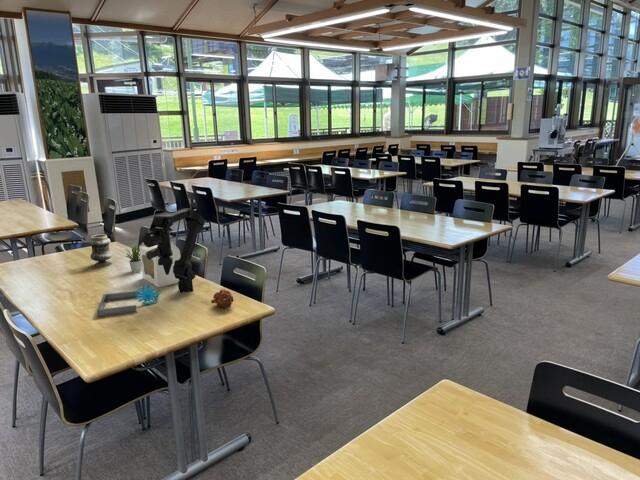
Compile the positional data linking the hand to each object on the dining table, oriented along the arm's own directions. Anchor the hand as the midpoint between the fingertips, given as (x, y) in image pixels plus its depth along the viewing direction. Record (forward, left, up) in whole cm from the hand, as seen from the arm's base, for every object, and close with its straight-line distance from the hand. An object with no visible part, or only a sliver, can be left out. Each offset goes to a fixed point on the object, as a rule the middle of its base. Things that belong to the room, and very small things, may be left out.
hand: (167, 274), depth 218 cm
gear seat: (+22, +2, -12) cm, 25 cm away
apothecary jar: (+39, -76, -12) cm, 86 cm away
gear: (+9, +2, -12) cm, 15 cm away
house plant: (+17, -54, -12) cm, 58 cm away
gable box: (+4, -32, -12) cm, 34 cm away
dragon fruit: (-23, +19, -12) cm, 32 cm away
